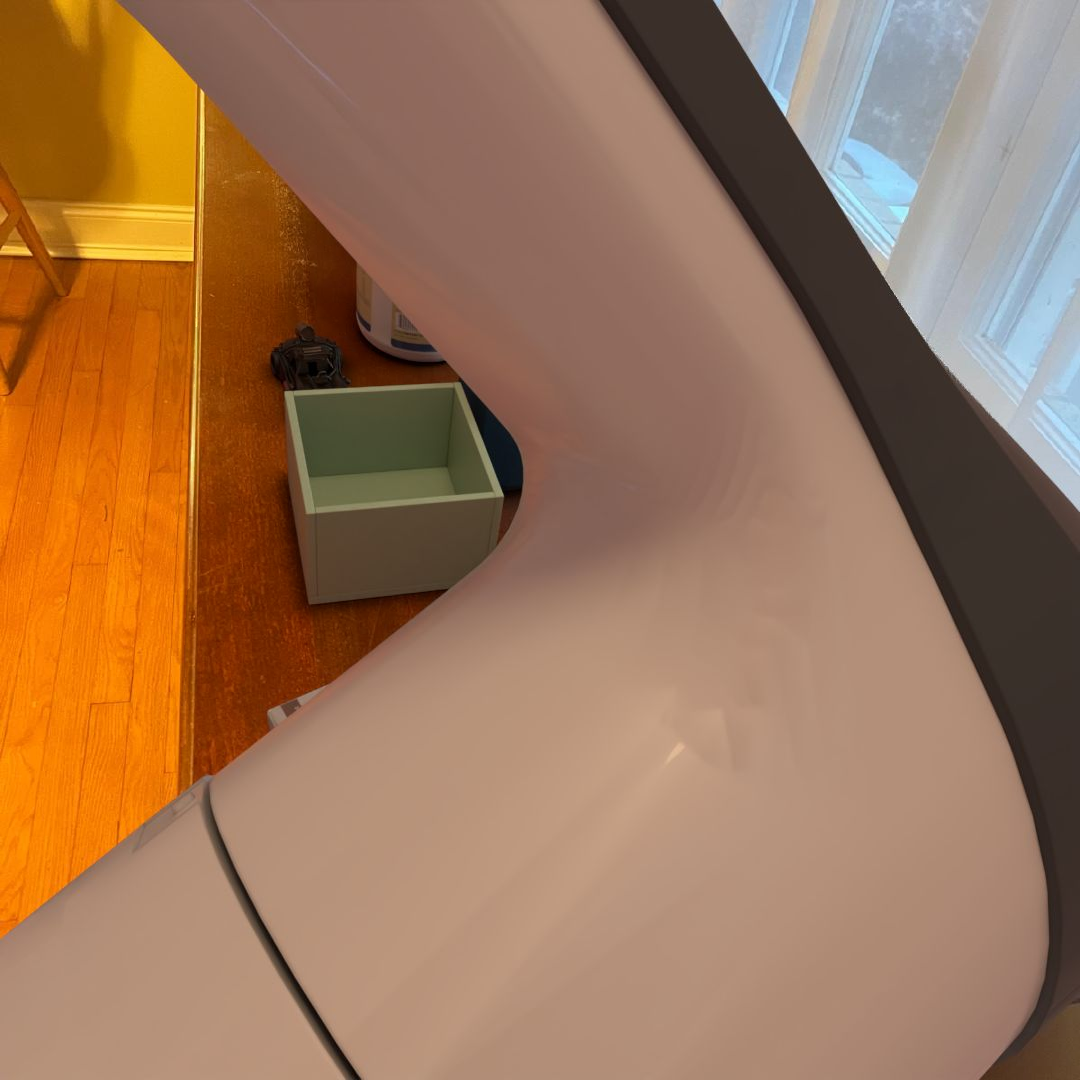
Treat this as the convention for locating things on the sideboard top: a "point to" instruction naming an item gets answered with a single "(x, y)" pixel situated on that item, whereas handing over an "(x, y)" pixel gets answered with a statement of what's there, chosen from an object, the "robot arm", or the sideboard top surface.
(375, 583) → the open storage box
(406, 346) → the supplement tub
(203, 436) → the sideboard top surface
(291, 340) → the toy car
